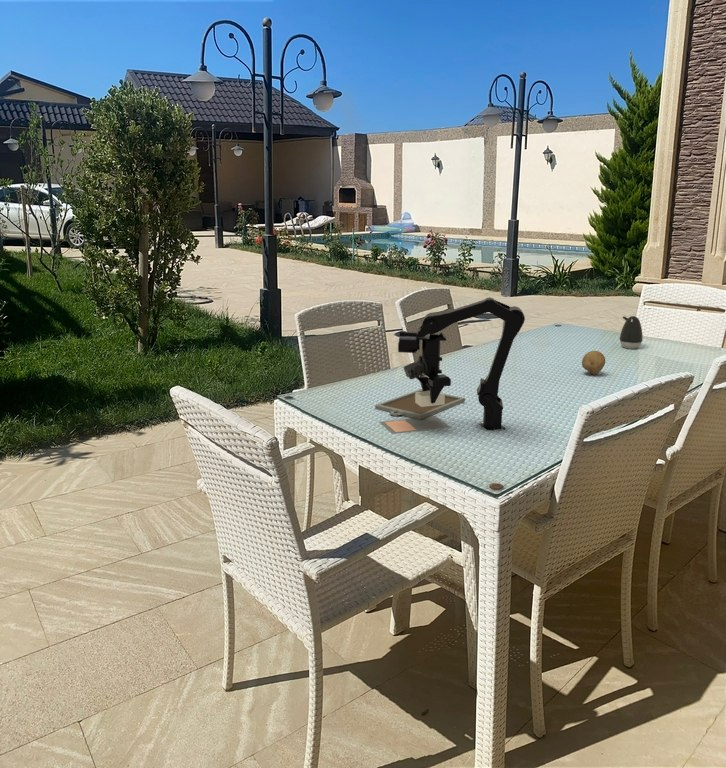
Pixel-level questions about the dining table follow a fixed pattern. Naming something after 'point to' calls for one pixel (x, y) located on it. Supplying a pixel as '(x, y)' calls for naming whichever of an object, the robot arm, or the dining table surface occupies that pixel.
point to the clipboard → (416, 406)
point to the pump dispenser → (631, 333)
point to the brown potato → (593, 362)
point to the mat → (414, 425)
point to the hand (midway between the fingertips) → (429, 400)
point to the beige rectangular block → (428, 399)
